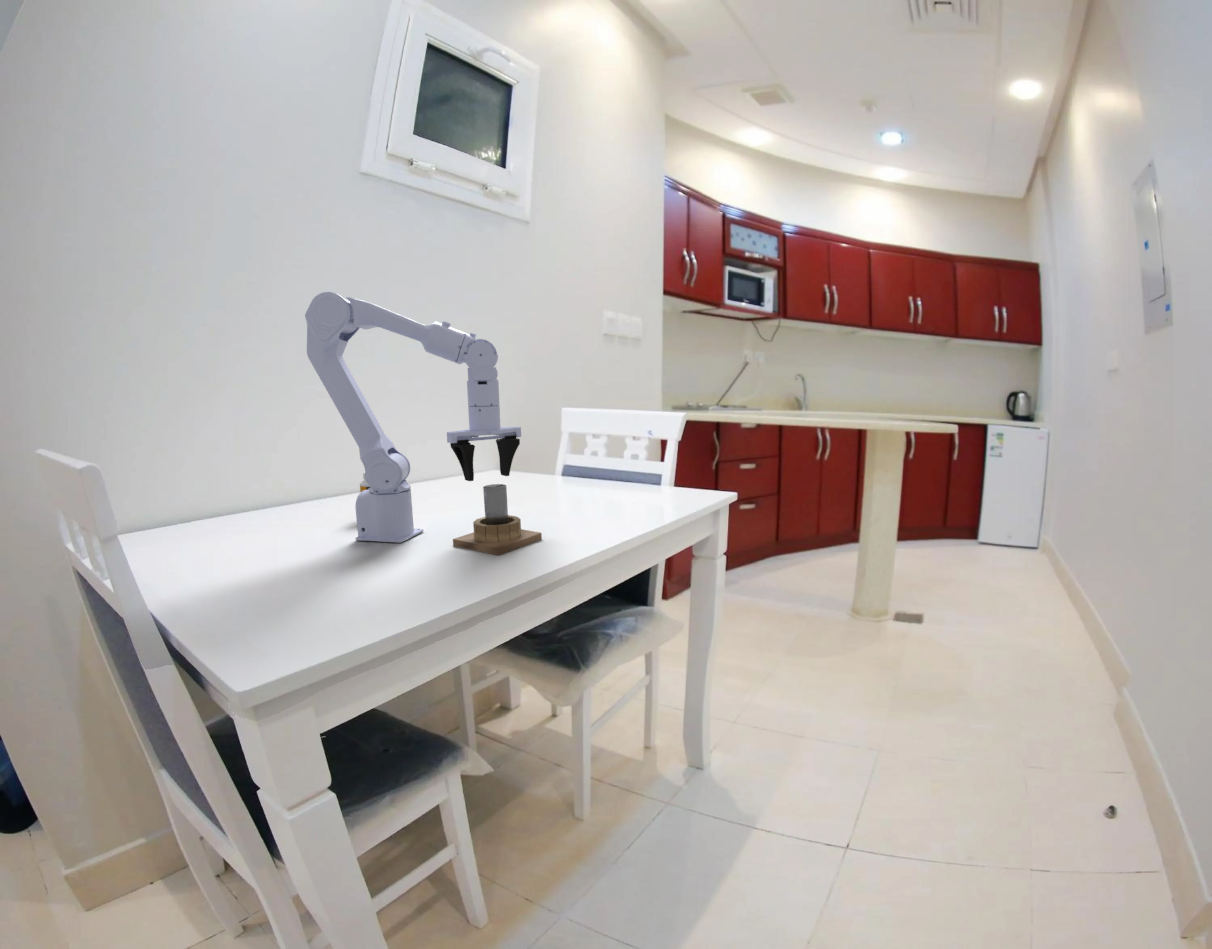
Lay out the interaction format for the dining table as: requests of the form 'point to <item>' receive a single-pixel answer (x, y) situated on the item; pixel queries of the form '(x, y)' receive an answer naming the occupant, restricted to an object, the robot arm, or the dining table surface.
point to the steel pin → (495, 504)
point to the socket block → (497, 537)
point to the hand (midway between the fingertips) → (487, 477)
